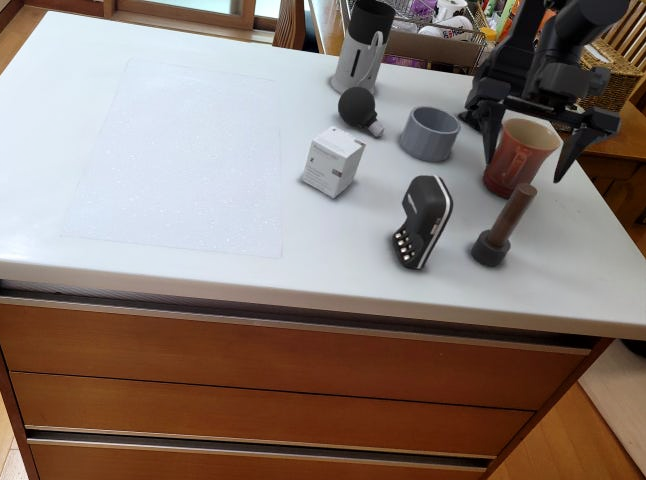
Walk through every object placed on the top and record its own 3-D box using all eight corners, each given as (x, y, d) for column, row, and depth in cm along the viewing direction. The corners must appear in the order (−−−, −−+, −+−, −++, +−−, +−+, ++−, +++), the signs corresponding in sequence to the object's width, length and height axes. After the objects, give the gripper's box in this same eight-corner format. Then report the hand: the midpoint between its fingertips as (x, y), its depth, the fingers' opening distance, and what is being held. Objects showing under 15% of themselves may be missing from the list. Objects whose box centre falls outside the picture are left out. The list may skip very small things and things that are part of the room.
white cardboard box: (300, 181, 83) (310, 139, 77) (321, 165, 87) (332, 124, 81) (334, 199, 81) (347, 158, 76) (353, 182, 85) (367, 141, 79)
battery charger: (384, 234, 77) (411, 167, 69) (409, 235, 78) (439, 169, 70) (397, 270, 73) (428, 203, 64) (423, 271, 73) (458, 205, 65)
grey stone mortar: (423, 129, 100) (434, 102, 96) (457, 155, 96) (471, 127, 92) (390, 139, 96) (400, 110, 92) (424, 166, 91) (437, 138, 87)
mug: (482, 164, 95) (510, 111, 87) (531, 185, 93) (563, 133, 85) (464, 198, 87) (493, 143, 79) (517, 222, 85) (552, 167, 77)
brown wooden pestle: (483, 241, 80) (524, 174, 71) (507, 261, 78) (551, 194, 69) (464, 250, 78) (503, 182, 69) (488, 270, 76) (531, 203, 67)
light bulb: (388, 125, 90) (348, 80, 91) (362, 151, 94) (324, 108, 95) (401, 118, 95) (363, 76, 96) (376, 144, 99) (340, 103, 100)
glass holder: (370, 78, 110) (394, 1, 100) (382, 116, 101) (410, 34, 90) (328, 72, 109) (348, -7, 98) (336, 109, 99) (359, 26, 89)
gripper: (510, 12, 65) (472, 138, 65) (665, 54, 64) (627, 181, 65) (480, 51, 76) (447, 159, 77) (612, 87, 75) (579, 196, 76)
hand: (522, 173), depth 73 cm, fingers open, 9 cm apart
